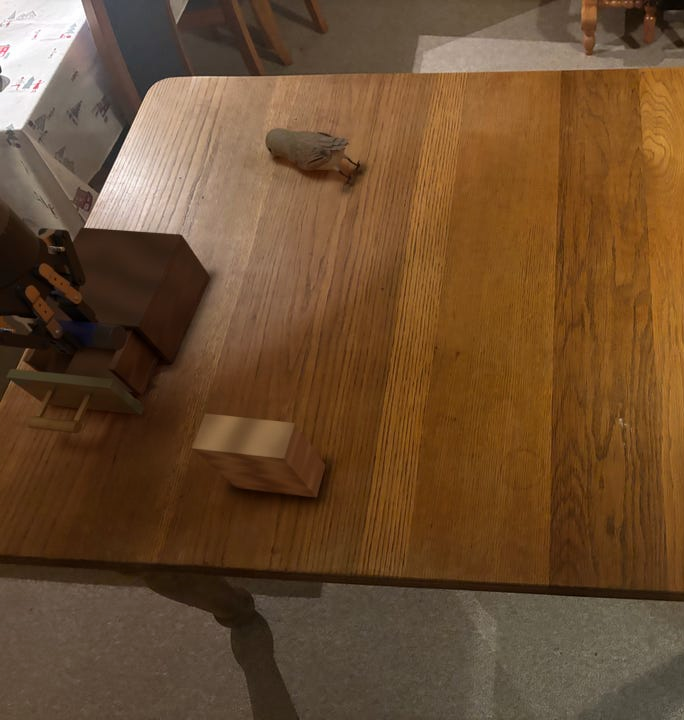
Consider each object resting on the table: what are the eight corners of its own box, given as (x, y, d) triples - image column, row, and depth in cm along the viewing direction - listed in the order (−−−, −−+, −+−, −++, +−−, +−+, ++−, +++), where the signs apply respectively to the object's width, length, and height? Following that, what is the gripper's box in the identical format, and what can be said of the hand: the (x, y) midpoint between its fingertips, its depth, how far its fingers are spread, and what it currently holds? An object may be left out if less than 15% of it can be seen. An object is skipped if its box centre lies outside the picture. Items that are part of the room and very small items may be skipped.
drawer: (125, 451, 80) (90, 426, 74) (26, 439, 82) (-16, 414, 76) (180, 325, 89) (154, 293, 83) (90, 317, 91) (57, 285, 85)
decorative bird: (282, 145, 108) (266, 106, 101) (368, 168, 104) (357, 130, 97) (264, 167, 105) (247, 129, 99) (351, 192, 101) (339, 154, 95)
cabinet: (172, 364, 87) (137, 326, 80) (72, 354, 89) (28, 316, 81) (210, 276, 95) (181, 234, 87) (117, 269, 96) (80, 227, 89)
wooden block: (236, 487, 78) (191, 448, 68) (246, 456, 80) (204, 413, 70) (316, 497, 77) (283, 458, 66) (325, 465, 79) (294, 422, 68)
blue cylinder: (43, 346, 70) (26, 333, 68) (54, 325, 71) (38, 312, 69) (120, 354, 69) (106, 342, 66) (130, 333, 70) (117, 320, 68)
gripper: (-35, 162, 58) (80, 281, 73) (-130, 289, 52) (18, 392, 66) (41, 167, 57) (142, 287, 72) (-46, 298, 51) (85, 400, 65)
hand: (82, 336), depth 69 cm, fingers closed on blue cylinder, 2 cm apart
